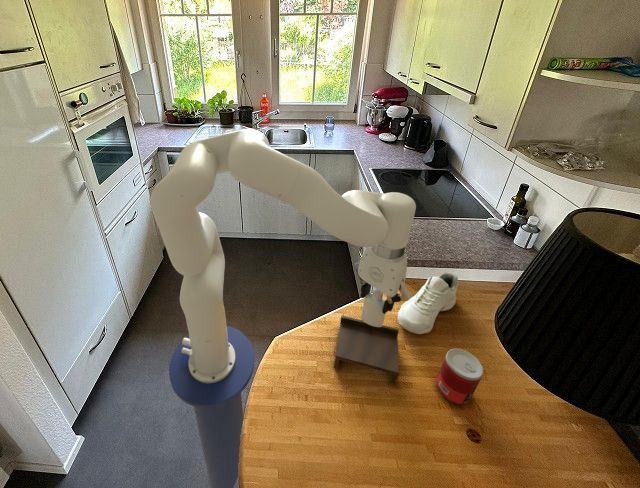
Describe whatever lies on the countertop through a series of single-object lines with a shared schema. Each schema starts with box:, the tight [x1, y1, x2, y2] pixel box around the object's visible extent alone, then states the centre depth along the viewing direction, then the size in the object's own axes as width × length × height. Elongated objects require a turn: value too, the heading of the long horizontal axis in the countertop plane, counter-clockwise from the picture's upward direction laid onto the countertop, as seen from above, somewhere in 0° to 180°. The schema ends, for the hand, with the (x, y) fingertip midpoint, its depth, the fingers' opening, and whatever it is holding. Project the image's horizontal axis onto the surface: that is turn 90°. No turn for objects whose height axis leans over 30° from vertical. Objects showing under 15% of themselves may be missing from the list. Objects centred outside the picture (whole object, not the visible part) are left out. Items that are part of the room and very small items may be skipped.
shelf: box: [333, 315, 400, 385], centre depth 89 cm, size 16×12×7 cm
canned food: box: [436, 348, 484, 405], centre depth 80 cm, size 8×8×11 cm
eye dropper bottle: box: [360, 287, 387, 327], centre depth 82 cm, size 4×6×12 cm
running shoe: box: [397, 272, 459, 335], centre depth 101 cm, size 11×27×14 cm, turn 130°
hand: (375, 302), depth 81 cm, fingers closed on eye dropper bottle, 5 cm apart
